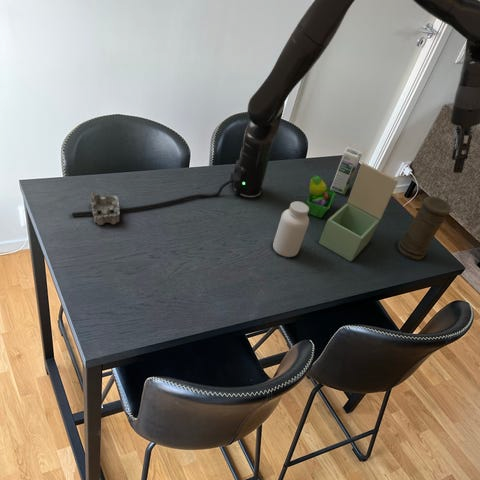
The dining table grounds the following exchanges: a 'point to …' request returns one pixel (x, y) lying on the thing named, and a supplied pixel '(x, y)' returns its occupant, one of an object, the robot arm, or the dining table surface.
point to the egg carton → (105, 209)
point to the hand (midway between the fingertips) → (456, 165)
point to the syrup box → (346, 170)
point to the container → (424, 227)
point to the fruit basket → (319, 197)
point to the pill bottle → (291, 229)
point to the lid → (372, 190)
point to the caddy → (348, 231)
